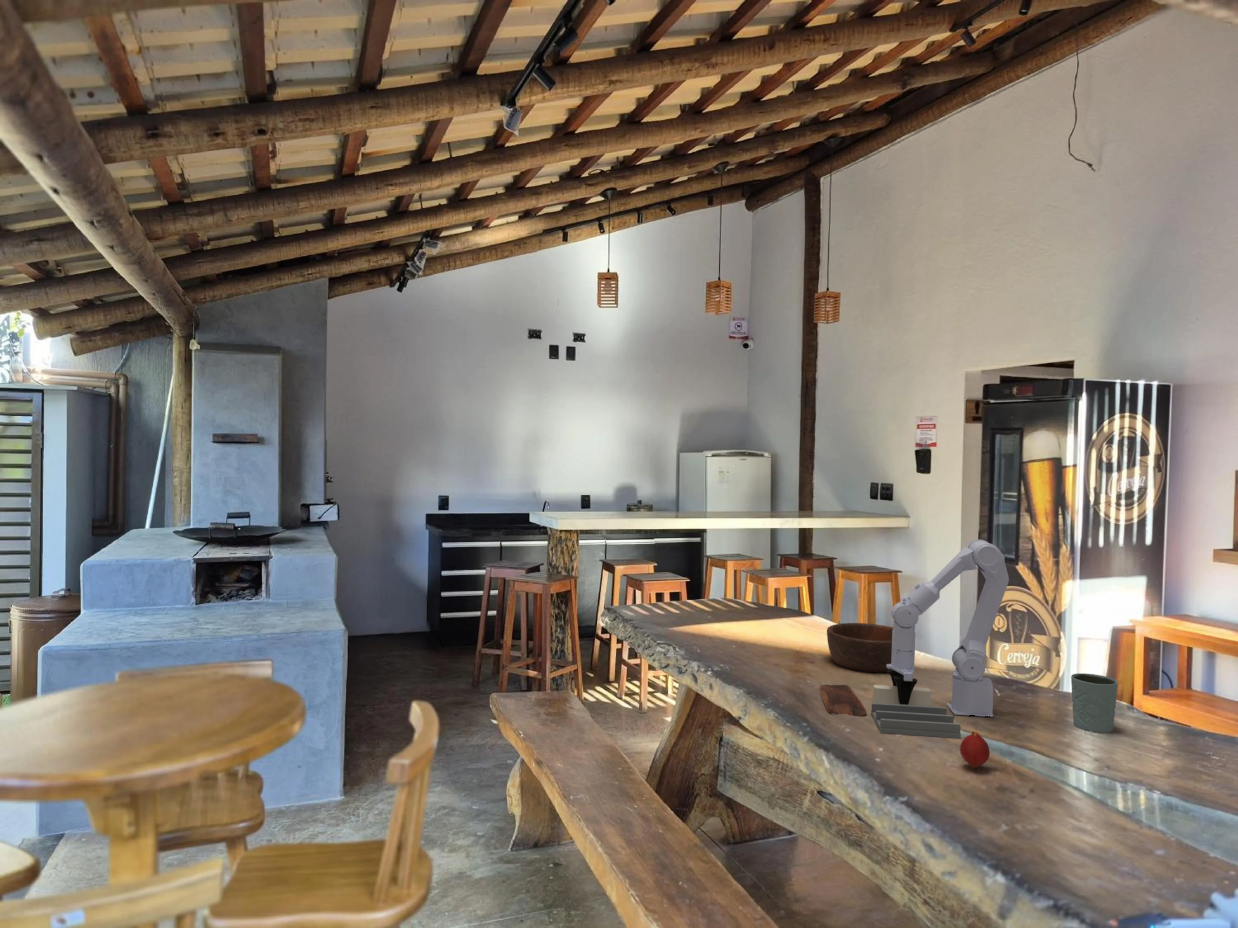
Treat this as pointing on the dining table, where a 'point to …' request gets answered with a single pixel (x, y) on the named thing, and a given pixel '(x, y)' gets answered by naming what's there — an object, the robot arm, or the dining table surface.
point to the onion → (974, 750)
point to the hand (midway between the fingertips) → (901, 700)
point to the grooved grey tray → (915, 720)
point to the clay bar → (891, 695)
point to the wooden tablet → (841, 700)
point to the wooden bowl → (861, 646)
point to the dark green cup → (1094, 702)
